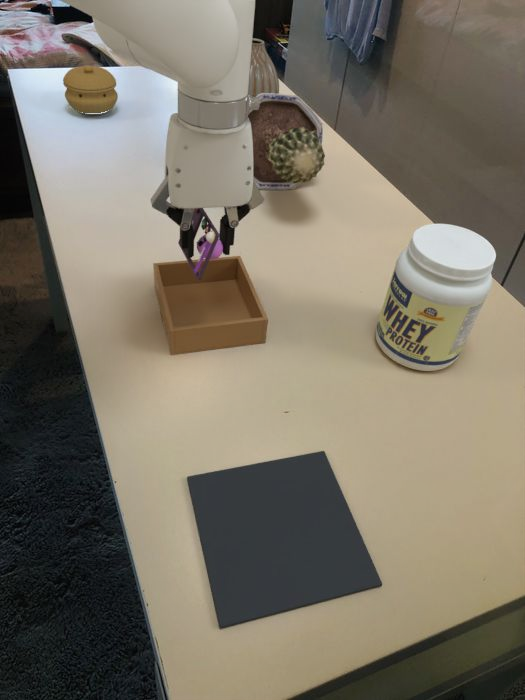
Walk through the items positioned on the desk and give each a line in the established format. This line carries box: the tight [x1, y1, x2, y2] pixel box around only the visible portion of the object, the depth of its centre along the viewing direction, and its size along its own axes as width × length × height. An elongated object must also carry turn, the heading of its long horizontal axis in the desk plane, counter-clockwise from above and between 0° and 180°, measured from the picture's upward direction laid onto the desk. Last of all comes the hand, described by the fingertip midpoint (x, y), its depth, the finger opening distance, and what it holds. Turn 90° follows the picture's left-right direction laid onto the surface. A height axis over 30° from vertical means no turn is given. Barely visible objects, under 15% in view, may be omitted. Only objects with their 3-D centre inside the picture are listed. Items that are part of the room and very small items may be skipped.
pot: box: [62, 64, 119, 116], centre depth 127 cm, size 12×12×10 cm
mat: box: [186, 450, 383, 630], centre depth 57 cm, size 16×16×1 cm
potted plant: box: [248, 93, 326, 191], centre depth 103 cm, size 18×18×30 cm
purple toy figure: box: [177, 208, 223, 280], centre depth 72 cm, size 7×5×9 cm
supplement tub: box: [375, 223, 497, 372], centre depth 74 cm, size 12×12×17 cm
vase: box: [248, 37, 280, 97], centre depth 129 cm, size 13×13×18 cm
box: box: [152, 255, 269, 356], centre depth 79 cm, size 13×15×4 cm
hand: (206, 249), depth 73 cm, fingers closed on purple toy figure, 4 cm apart
